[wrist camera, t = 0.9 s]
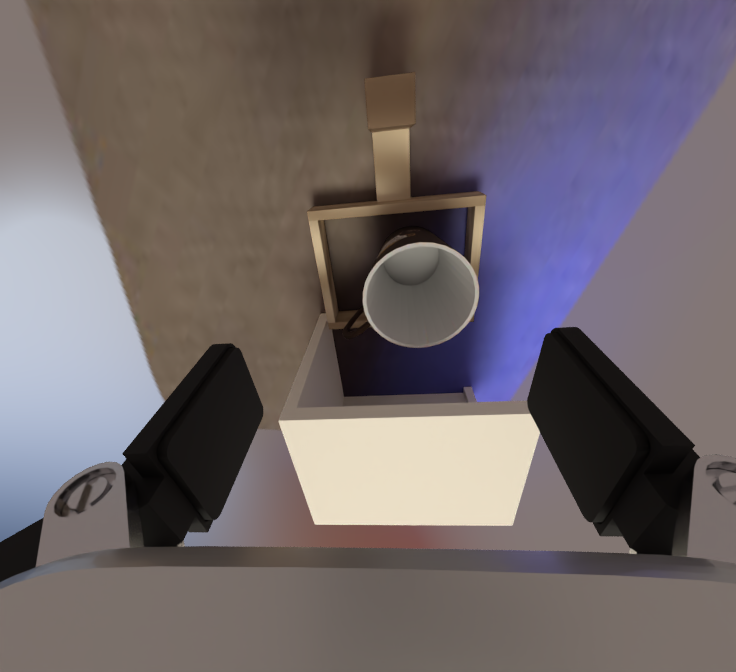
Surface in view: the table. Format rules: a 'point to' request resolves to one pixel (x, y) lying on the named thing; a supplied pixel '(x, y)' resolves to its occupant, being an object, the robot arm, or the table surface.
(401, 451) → the cream open box
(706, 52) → the table surface
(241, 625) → the robot arm
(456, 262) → the coffee mug
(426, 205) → the wooden drawer
